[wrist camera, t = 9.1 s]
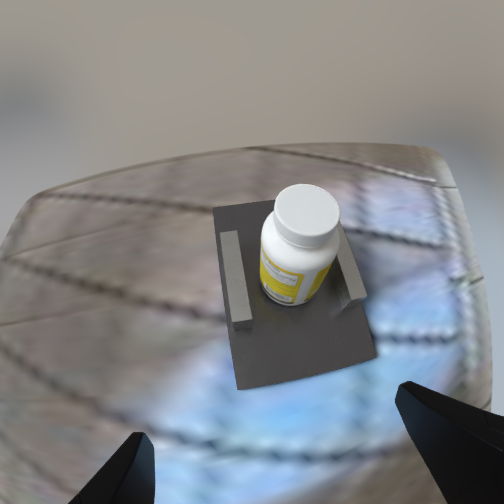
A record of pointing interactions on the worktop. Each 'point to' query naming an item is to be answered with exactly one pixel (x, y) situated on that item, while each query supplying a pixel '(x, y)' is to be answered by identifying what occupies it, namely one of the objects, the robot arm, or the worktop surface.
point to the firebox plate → (286, 308)
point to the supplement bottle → (298, 243)
